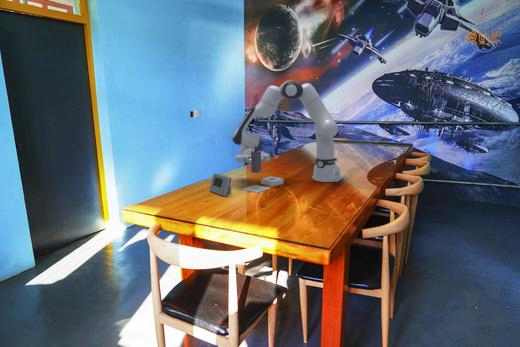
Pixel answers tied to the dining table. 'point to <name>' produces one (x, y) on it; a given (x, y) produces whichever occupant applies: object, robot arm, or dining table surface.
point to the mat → (256, 188)
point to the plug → (256, 161)
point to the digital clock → (220, 184)
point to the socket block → (272, 181)
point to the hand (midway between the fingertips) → (256, 160)
